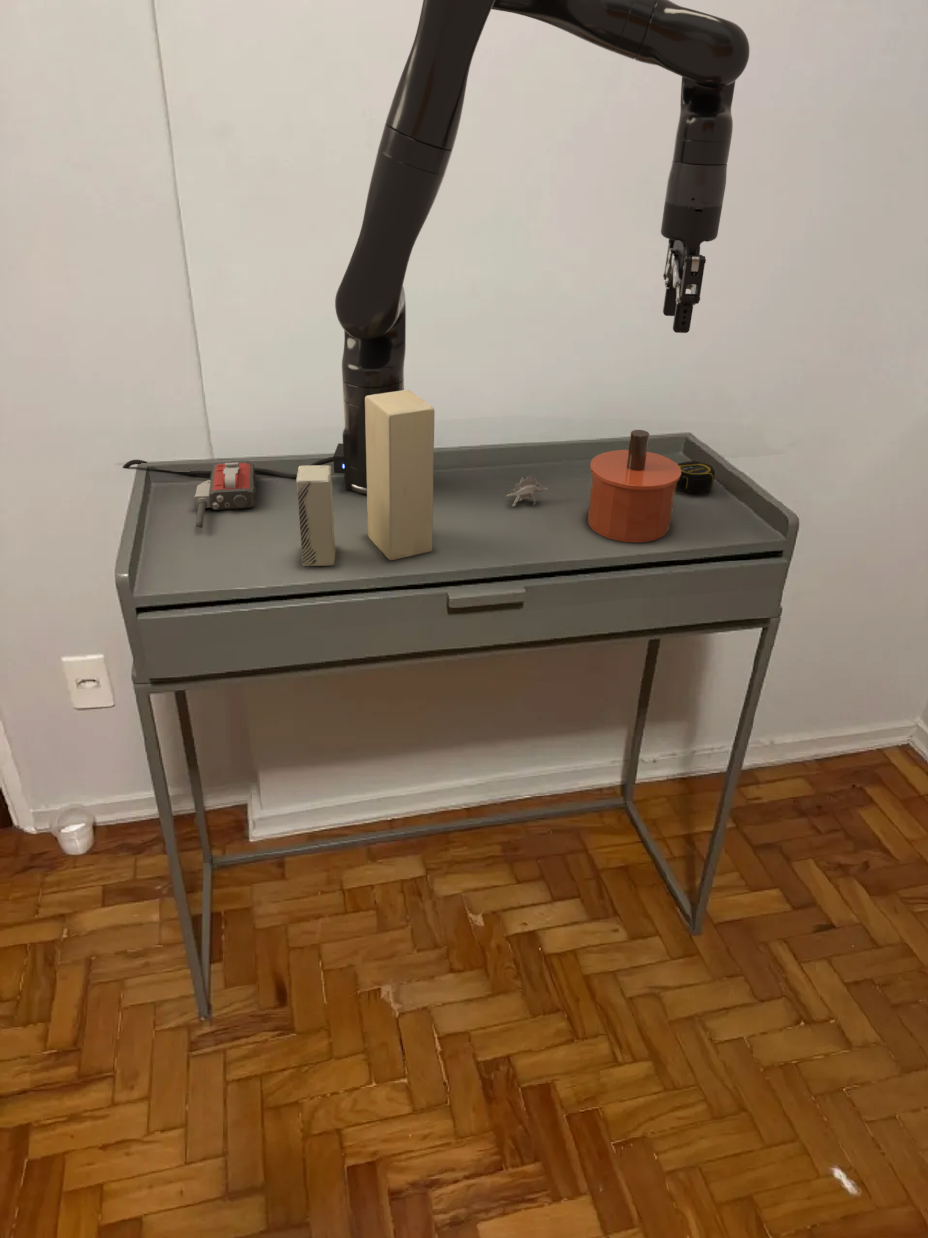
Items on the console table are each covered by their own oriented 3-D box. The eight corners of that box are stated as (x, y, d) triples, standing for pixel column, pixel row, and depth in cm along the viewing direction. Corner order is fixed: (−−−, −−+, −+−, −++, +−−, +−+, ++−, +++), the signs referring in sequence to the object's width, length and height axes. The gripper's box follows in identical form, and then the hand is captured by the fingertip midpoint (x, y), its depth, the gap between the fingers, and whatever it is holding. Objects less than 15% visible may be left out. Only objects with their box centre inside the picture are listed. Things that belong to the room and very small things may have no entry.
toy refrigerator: (438, 550, 131) (439, 406, 119) (390, 561, 128) (387, 415, 116) (413, 527, 136) (413, 387, 125) (367, 537, 134) (362, 395, 122)
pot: (591, 541, 134) (597, 486, 130) (585, 504, 144) (590, 453, 140) (674, 544, 134) (683, 489, 129) (662, 507, 144) (670, 456, 139)
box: (304, 549, 130) (297, 463, 123) (336, 548, 130) (331, 463, 123) (302, 568, 126) (295, 480, 119) (335, 567, 126) (329, 479, 119)
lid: (593, 492, 129) (598, 449, 126) (586, 455, 140) (590, 414, 137) (687, 495, 129) (694, 452, 126) (672, 458, 140) (678, 417, 137)
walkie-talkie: (201, 477, 149) (192, 535, 133) (197, 451, 147) (188, 507, 131) (256, 474, 151) (255, 531, 134) (254, 449, 148) (252, 503, 132)
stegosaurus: (550, 503, 144) (553, 475, 142) (508, 508, 142) (510, 480, 140) (544, 496, 146) (546, 469, 144) (503, 501, 144) (504, 474, 142)
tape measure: (695, 477, 154) (698, 455, 152) (720, 493, 149) (724, 471, 147) (660, 483, 152) (663, 461, 150) (685, 500, 146) (688, 478, 144)
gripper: (657, 190, 129) (641, 309, 138) (674, 207, 117) (656, 336, 126) (711, 192, 129) (692, 311, 138) (734, 209, 117) (712, 338, 126)
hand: (675, 323), depth 132 cm, fingers open, 8 cm apart
